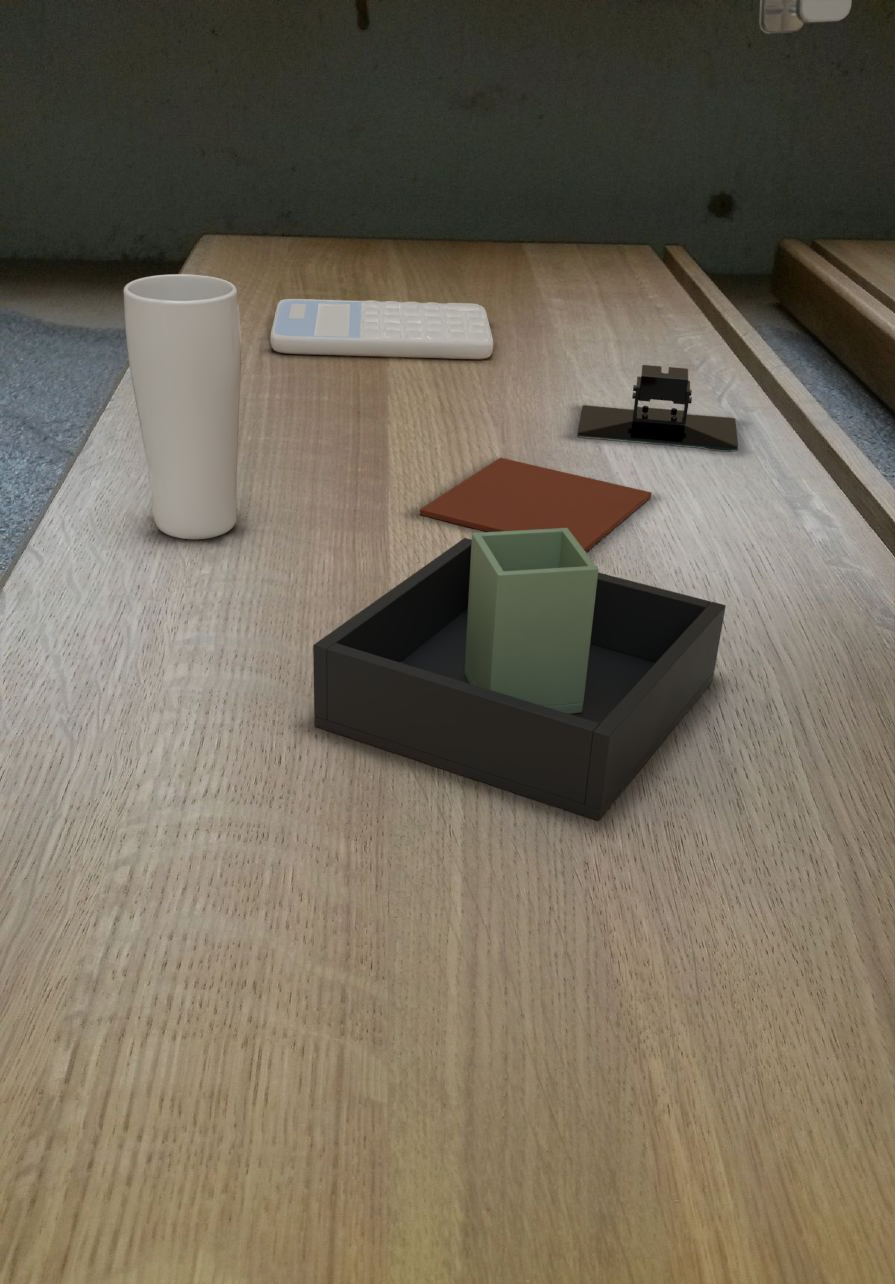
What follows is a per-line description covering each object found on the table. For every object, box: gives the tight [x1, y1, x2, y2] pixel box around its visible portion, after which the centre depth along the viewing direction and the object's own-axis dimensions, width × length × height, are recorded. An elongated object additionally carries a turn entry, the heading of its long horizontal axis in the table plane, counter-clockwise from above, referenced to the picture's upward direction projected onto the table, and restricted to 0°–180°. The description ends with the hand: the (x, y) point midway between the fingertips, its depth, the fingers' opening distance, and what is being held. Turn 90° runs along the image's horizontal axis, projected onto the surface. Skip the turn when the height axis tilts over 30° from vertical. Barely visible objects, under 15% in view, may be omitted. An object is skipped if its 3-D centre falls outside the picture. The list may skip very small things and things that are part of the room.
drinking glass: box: [122, 273, 242, 540], centre depth 84 cm, size 7×7×15 cm
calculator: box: [269, 298, 494, 360], centre depth 126 cm, size 13×20×2 cm, turn 92°
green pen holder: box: [465, 528, 599, 714], centre depth 68 cm, size 5×5×8 cm
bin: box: [312, 537, 727, 821], centre depth 70 cm, size 16×16×5 cm
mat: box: [419, 457, 652, 553], centre depth 93 cm, size 12×12×1 cm
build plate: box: [576, 364, 739, 452], centre depth 107 cm, size 12×7×5 cm, turn 82°
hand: (800, 28), depth 55 cm, fingers open, 8 cm apart
